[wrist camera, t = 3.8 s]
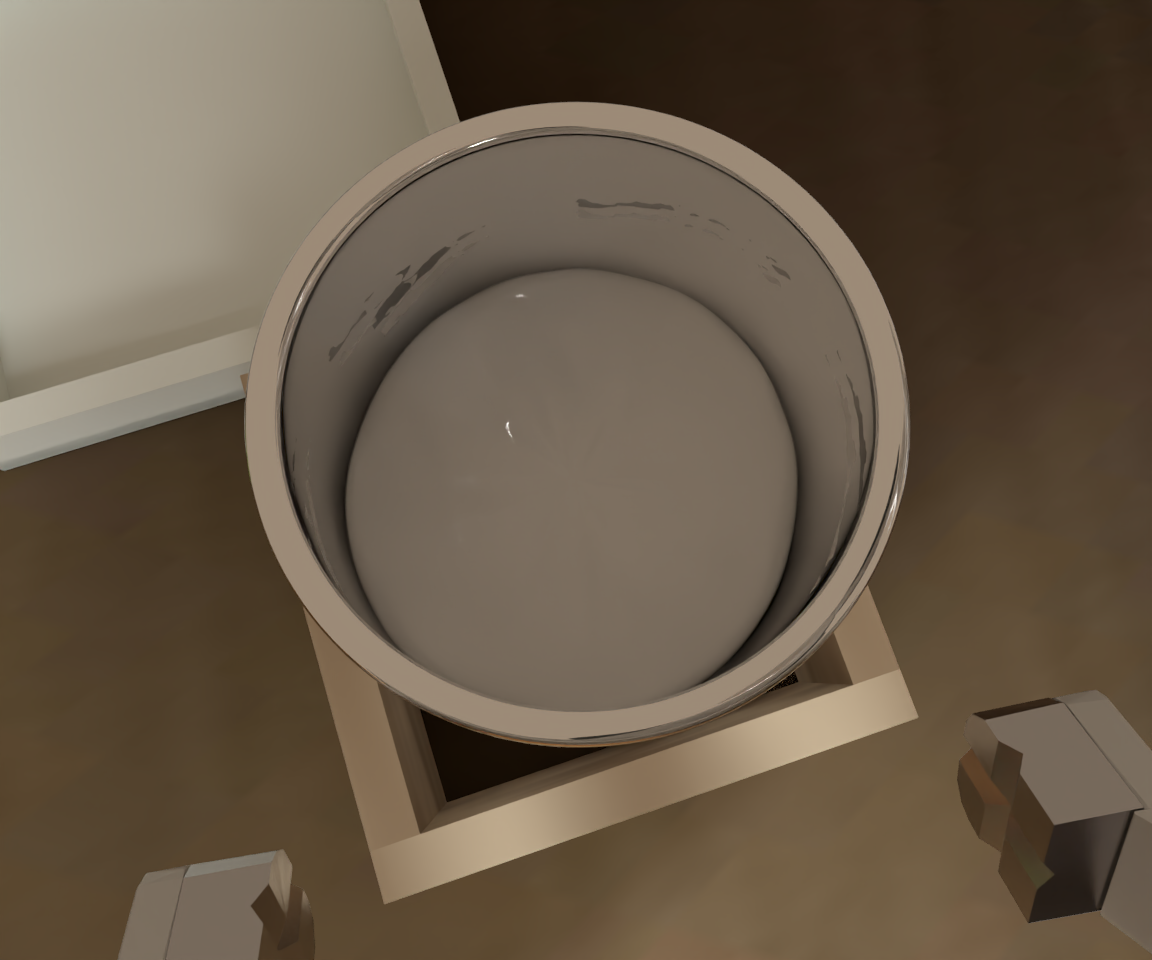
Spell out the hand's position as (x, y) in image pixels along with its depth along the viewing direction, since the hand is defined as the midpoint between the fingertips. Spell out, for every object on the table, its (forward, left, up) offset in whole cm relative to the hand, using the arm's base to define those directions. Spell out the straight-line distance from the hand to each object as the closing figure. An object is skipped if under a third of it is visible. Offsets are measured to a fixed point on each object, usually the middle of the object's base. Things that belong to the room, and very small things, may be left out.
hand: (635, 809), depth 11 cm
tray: (+5, -18, -12) cm, 22 cm away
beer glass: (-1, -4, -12) cm, 13 cm away
